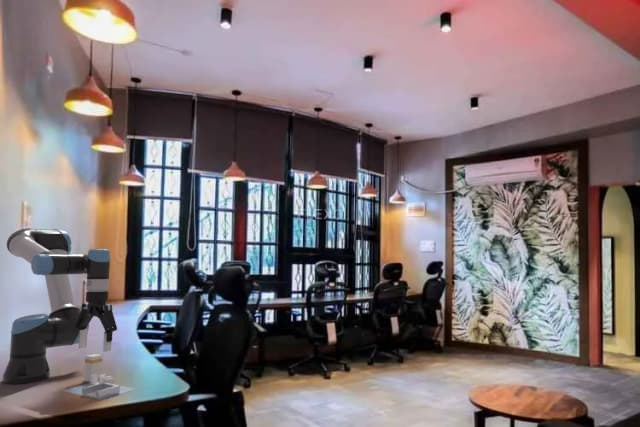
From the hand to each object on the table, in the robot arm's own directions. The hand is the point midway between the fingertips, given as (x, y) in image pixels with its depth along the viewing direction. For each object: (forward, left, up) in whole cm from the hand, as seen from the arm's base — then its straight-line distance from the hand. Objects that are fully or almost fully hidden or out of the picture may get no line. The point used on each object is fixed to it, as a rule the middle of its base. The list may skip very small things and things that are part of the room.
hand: (94, 349), depth 172 cm
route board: (+13, -7, -12) cm, 19 cm away
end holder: (+18, -10, -11) cm, 23 cm away
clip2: (+13, -4, -11) cm, 17 cm away
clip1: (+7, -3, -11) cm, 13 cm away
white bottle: (0, 0, -12) cm, 12 cm away
